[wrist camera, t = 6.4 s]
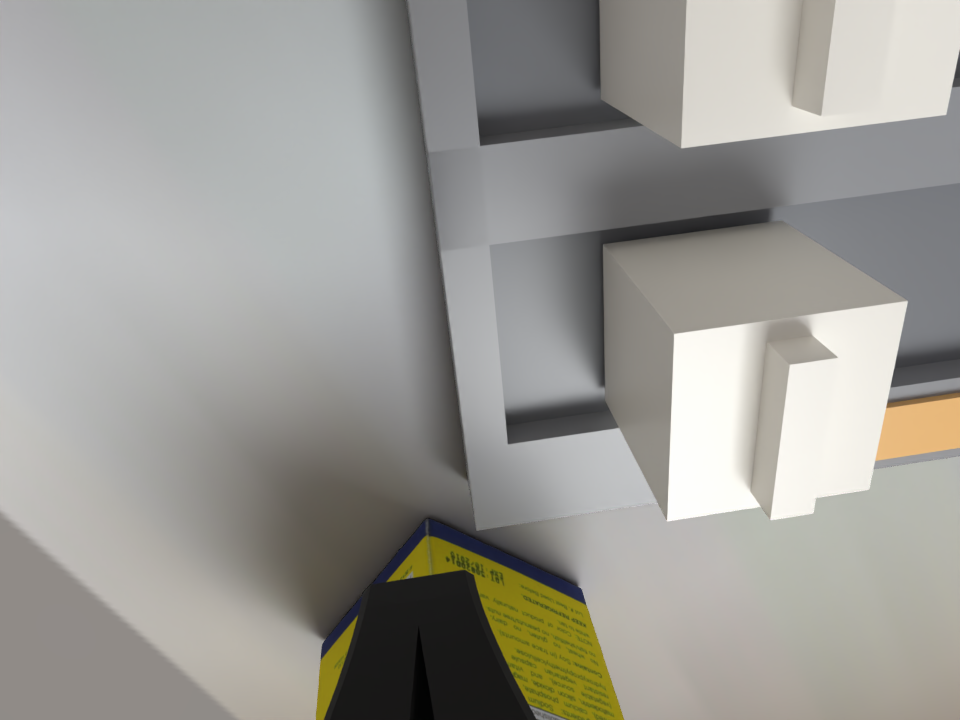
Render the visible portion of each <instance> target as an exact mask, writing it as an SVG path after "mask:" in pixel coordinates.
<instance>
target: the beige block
mask: <svg viewBox="0 0 960 720" xmlns="http://www.w3.org/2000/svg"><path fill="white" fill-rule="evenodd" d="M599 10H600V79H601V100H603V101H605V102H606V103H608V104H610V105H611V106H613V107H614V108H616V109H618V110H619V111H621V112H623V113H624V114H626V115H628V116H629V117H631V118H632V119H634V120H636V121H637V122H639V123H641V124H642V125H644V126H645V127H647V128H649V129H650V130H652V131H654V132H655V133H657V134H659V135H660V136H662V137H663V138H665V139H667V140H668V141H670V142H672V143H673V144H675V145H677V146H678V147H680V148H688V147H696V146H704V145H712V144H720V143H728V142H735V141H743V140H751V139H759V138H767V137H775V136H783V135H791V134H799V133H807V132H815V131H823V130H831V129H839V128H846V127H854V126H862V125H870V124H878V123H886V122H894V121H902V120H910V119H918V118H926V117H934V116H942V115H946V114H947V109H948V104H949V99H950V94H951V89H952V84H953V79H954V75H955V70H956V65H957V60H958V55H959V50H960V0H599Z"/></svg>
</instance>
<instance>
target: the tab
mask: <svg viewBox="0 0 960 720" xmlns="http://www.w3.org/2000/svg"><path fill="white" fill-rule="evenodd" d="M603 288H604V358H605V401H606V403H607V405H608V407H609V409H610V411H611V413H612V415H613V417H614V419H615V421H616V423H617V425H618V427H619V429H620V431H621V433H622V434H623V436H624V438H625V440H626V442H627V444H628V446H629V448H630V450H631V452H632V454H633V456H634V458H635V460H636V462H637V464H638V466H639V468H640V469H641V471H642V473H643V475H644V477H645V479H646V481H647V483H648V485H649V487H650V489H651V491H652V493H653V495H654V497H655V499H656V501H657V503H658V504H659V506H660V508H661V510H662V512H663V514H664V516H665V518H666V520H667V521H673V520H679V519H685V518H692V517H698V516H705V515H711V514H717V513H724V512H730V511H736V510H743V509H749V508H756V507H761V508H762V509H763V511H764V512H765V513H766V515H767V516H768V518H769V519H770V520H775V519H782V518H788V517H794V516H801V515H807V514H813V513H814V506H815V500H816V498H819V497H826V496H832V495H839V494H845V493H851V492H858V491H864V490H869V488H870V484H871V479H872V474H873V469H874V464H875V459H876V454H877V449H878V445H879V440H880V435H881V430H882V425H883V420H884V415H885V410H886V406H887V401H888V396H889V391H890V386H891V381H892V376H893V372H894V367H895V362H896V357H897V352H898V347H899V342H900V337H901V333H902V328H903V323H904V318H905V313H906V308H907V303H908V301H907V300H906V299H904V298H903V297H901V296H900V295H898V294H896V293H895V292H893V291H892V290H890V289H889V288H887V287H885V286H884V285H882V284H881V283H879V282H878V281H876V280H874V279H873V278H871V277H870V276H868V275H867V274H865V273H863V272H862V271H860V270H859V269H857V268H856V267H854V266H853V265H851V264H849V263H848V262H846V261H845V260H843V259H842V258H840V257H838V256H837V255H835V254H834V253H832V252H831V251H829V250H827V249H826V248H824V247H823V246H821V245H820V244H818V243H816V242H815V241H813V240H812V239H810V238H809V237H807V236H806V235H804V234H802V233H801V232H799V231H798V230H796V229H795V228H793V227H791V226H790V225H788V224H787V223H785V222H784V221H782V220H780V221H773V222H765V223H758V224H750V225H743V226H735V227H728V228H720V229H713V230H705V231H698V232H690V233H683V234H675V235H668V236H660V237H653V238H645V239H638V240H630V241H623V242H615V243H608V244H603Z"/></svg>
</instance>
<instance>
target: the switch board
mask: <svg viewBox="0 0 960 720" xmlns="http://www.w3.org/2000/svg"><path fill="white" fill-rule="evenodd" d="M406 4H407V12H408V20H409V28H410V35H411V43H412V51H413V59H414V66H415V74H416V82H417V90H418V97H419V105H420V113H421V121H422V128H423V136H424V144H425V152H426V159H427V167H428V175H429V183H430V190H431V198H432V206H433V214H434V221H435V229H436V237H437V245H438V252H439V260H440V268H441V276H442V283H443V291H444V299H445V306H446V314H447V322H448V330H449V337H450V345H451V353H452V361H453V368H454V376H455V384H456V392H457V399H458V407H459V415H460V423H461V430H462V438H463V446H464V454H465V461H466V469H467V477H468V484H469V490H470V496H471V502H472V508H473V514H474V519H475V525H476V531H479V530H485V529H492V528H498V527H505V526H511V525H518V524H524V523H531V522H537V521H544V520H550V519H556V518H563V517H569V516H576V515H582V514H589V513H595V512H602V511H608V510H614V509H621V508H627V507H634V506H640V505H647V504H653V503H657V501H656V499H655V497H654V495H653V493H652V491H651V489H650V487H649V485H648V483H647V481H646V479H645V477H644V475H643V473H642V471H641V469H640V468H639V466H638V464H637V462H636V460H635V458H634V456H633V454H632V452H631V450H630V448H629V446H628V444H627V442H626V440H625V438H624V436H623V434H622V433H621V431H620V429H619V427H618V425H617V423H616V421H615V419H614V417H613V415H612V413H611V411H610V409H609V407H608V405H607V403H606V401H605V358H604V288H603V244H608V243H615V242H623V241H630V240H638V239H645V238H653V237H660V236H668V235H675V234H683V233H690V232H698V231H705V230H713V229H720V228H728V227H735V226H743V225H750V224H758V223H765V222H773V221H780V220H782V221H784V222H785V223H787V224H788V225H790V226H791V227H793V228H795V229H796V230H798V231H799V232H801V233H802V234H804V235H806V236H807V237H809V238H810V239H812V240H813V241H815V242H816V243H818V244H820V245H821V246H823V247H824V248H826V249H827V250H829V251H831V252H832V253H834V254H835V255H837V256H838V257H840V258H842V259H843V260H845V261H846V262H848V263H849V264H851V265H853V266H854V267H856V268H857V269H859V270H860V271H862V272H863V273H865V274H867V275H868V276H870V277H871V278H873V279H874V280H876V281H878V282H879V283H881V284H882V285H884V286H885V287H887V288H889V289H890V290H892V291H893V292H895V293H896V294H898V295H900V296H901V297H903V298H904V299H906V300H907V301H908V303H907V308H906V313H905V318H904V323H903V328H902V333H901V337H900V342H899V347H898V352H897V357H896V362H895V367H894V372H893V376H892V381H891V386H890V391H889V396H888V401H887V406H886V410H885V415H884V420H883V425H882V430H881V435H880V440H879V445H878V449H877V454H876V459H875V464H874V469H879V468H886V467H892V466H898V465H905V464H911V463H918V462H924V461H931V460H937V459H944V458H950V457H957V456H960V50H959V55H958V60H957V65H956V70H955V75H954V79H953V84H952V89H951V94H950V99H949V104H948V109H947V114H946V115H942V116H934V117H926V118H918V119H910V120H902V121H894V122H886V123H878V124H870V125H862V126H854V127H846V128H839V129H831V130H823V131H815V132H807V133H799V134H791V135H783V136H775V137H767V138H759V139H751V140H743V141H735V142H728V143H720V144H712V145H704V146H696V147H688V148H680V147H678V146H677V145H675V144H673V143H672V142H670V141H668V140H667V139H665V138H663V137H662V136H660V135H659V134H657V133H655V132H654V131H652V130H650V129H649V128H647V127H645V126H644V125H642V124H641V123H639V122H637V121H636V120H634V119H632V118H631V117H629V116H628V115H626V114H624V113H623V112H621V111H619V110H618V109H616V108H614V107H613V106H611V105H610V104H608V103H606V102H605V101H603V100H601V79H600V10H599V0H406Z"/></svg>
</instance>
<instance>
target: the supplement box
mask: <svg viewBox="0 0 960 720" xmlns="http://www.w3.org/2000/svg"><path fill="white" fill-rule="evenodd" d="M459 570H466V571H468V572H470V573H471V574H473V575H474V577H475V582H476V586H477V590H478V593H479V596H480V599H481V603H482V606H483V608H484V611H485V614H486V616H487V619H488V621H489V624H490V626H491V629H492V631H493V634H494V636H495V638H496V640H497V642H498V645H499V647H500V649H501V651H502V654H503V656H504V658H505V660H506V662H507V664H508V666H509V668H510V670H511V672H512V674H513V676H514V678H515V680H516V682H517V684H518V686H519V688H520V689H521V691H522V693H523V695H524V697H525V699H526V701H527V702H528V704H529V706H530V708H531V710H532V712H533V714H534V716H535V717H536V719H537V720H624V718H623V715H622V712H621V709H620V706H619V703H618V699H617V696H616V694H615V691H614V688H613V685H612V681H611V678H610V675H609V672H608V670H607V667H606V664H605V661H604V657H603V654H602V651H601V647H600V644H599V642H598V639H597V636H596V633H595V630H594V627H593V624H592V621H591V618H590V614H589V611H588V609H587V606H586V602H585V599H584V596H583V592H582V590H581V588H579V587H577V586H575V585H573V584H571V583H569V582H567V581H565V580H563V579H561V578H558V577H557V576H554V575H551V574H549V573H547V572H545V571H543V570H541V569H539V568H536V567H534V566H532V565H530V564H528V563H526V562H524V561H522V560H520V559H518V558H515V557H513V556H511V555H508V554H506V553H504V552H502V551H500V550H498V549H496V548H494V547H492V546H489V545H487V544H484V543H483V542H480V541H478V540H476V539H474V538H472V537H470V536H467V535H465V534H463V533H461V532H459V531H457V530H455V529H452V528H450V527H448V526H446V525H443V524H441V523H439V522H436V521H434V520H432V519H426V520H424V521H423V523H422V524H421V525H420V526H419V528H418V529H417V530H416V531H415V533H414V534H413V535H412V536H411V537H410V539H409V540H408V541H407V542H406V543H405V544H404V546H403V547H402V548H401V549H399V551H398V553H397V554H396V555H395V557H394V558H393V559H392V560H391V561H390V563H389V564H388V565H387V566H386V568H385V569H384V570H383V571H382V572H381V573H380V574H379V576H378V577H377V578H376V580H375V581H374V582H373V583H372V584H377V583H383V582H389V581H396V580H402V579H408V578H415V577H421V576H427V575H434V574H440V573H446V572H453V571H459ZM361 600H362V596H361V597H360V599H359V600H358V601H357V602H356V604H355V605H354V606H353V607H352V608H351V610H350V611H349V612H348V613H347V614H346V616H345V617H344V618H343V619H342V620H341V621H340V623H339V624H338V625H337V627H336V628H335V629H334V630H333V631H332V633H331V634H330V635H329V636H328V637H327V638H326V640H325V641H324V643H323V645H322V651H321V662H320V672H319V688H318V698H317V711H316V720H324V717H325V715H326V712H327V709H328V707H329V704H330V701H331V699H332V696H333V693H334V691H335V688H336V685H337V682H338V679H339V676H340V673H341V670H342V667H343V664H344V661H345V658H346V655H347V652H348V649H349V646H350V642H351V639H352V636H353V632H354V629H355V625H356V621H357V617H358V613H359V609H360V605H361Z"/></svg>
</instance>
